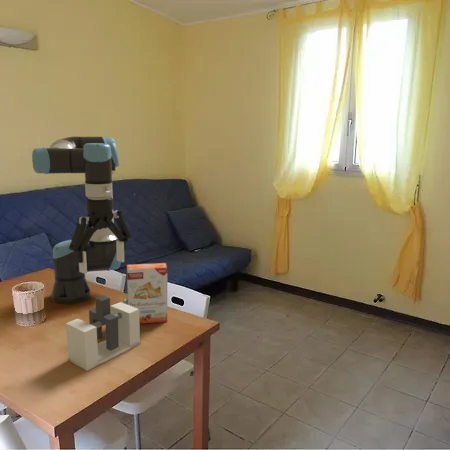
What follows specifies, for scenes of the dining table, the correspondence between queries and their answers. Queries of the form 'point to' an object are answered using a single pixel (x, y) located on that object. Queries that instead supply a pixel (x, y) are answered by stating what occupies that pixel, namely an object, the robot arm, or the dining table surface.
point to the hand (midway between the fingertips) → (102, 266)
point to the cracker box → (148, 291)
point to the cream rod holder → (97, 353)
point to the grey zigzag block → (105, 322)
